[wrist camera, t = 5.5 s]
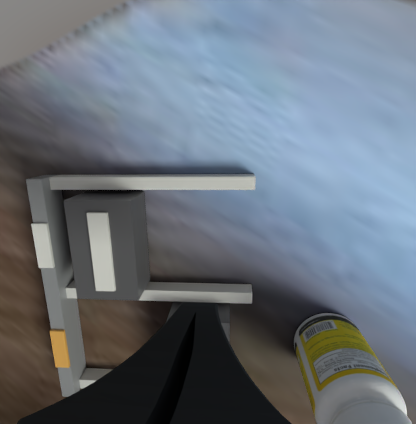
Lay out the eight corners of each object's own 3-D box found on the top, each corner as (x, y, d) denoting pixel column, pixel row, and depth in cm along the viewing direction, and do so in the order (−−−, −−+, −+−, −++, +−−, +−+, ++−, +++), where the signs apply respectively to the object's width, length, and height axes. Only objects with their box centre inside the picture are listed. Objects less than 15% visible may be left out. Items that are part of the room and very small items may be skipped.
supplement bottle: (343, 374, 23) (405, 509, 14) (283, 355, 23) (312, 480, 14) (370, 322, 21) (456, 438, 13) (307, 302, 21) (354, 406, 13)
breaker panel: (248, 384, 23) (250, 409, 21) (75, 375, 24) (61, 398, 22) (254, 174, 19) (256, 179, 17) (45, 174, 20) (23, 179, 18)
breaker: (150, 279, 22) (137, 302, 19) (96, 278, 22) (75, 300, 19) (144, 191, 20) (129, 201, 17) (86, 191, 20) (61, 201, 17)
